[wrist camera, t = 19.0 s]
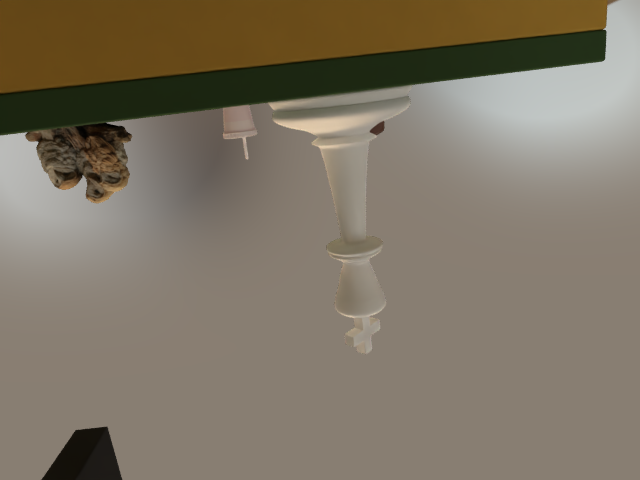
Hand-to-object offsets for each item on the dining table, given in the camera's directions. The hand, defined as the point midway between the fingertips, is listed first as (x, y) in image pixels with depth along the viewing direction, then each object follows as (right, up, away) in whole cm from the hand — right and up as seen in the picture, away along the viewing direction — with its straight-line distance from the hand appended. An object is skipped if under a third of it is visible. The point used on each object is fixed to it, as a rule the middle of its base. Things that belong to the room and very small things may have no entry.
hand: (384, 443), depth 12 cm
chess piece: (-1, +10, +5) cm, 11 cm away
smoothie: (-17, +34, +78) cm, 87 cm away
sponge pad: (-5, +12, +4) cm, 14 cm away
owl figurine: (-41, +27, +67) cm, 83 cm away
